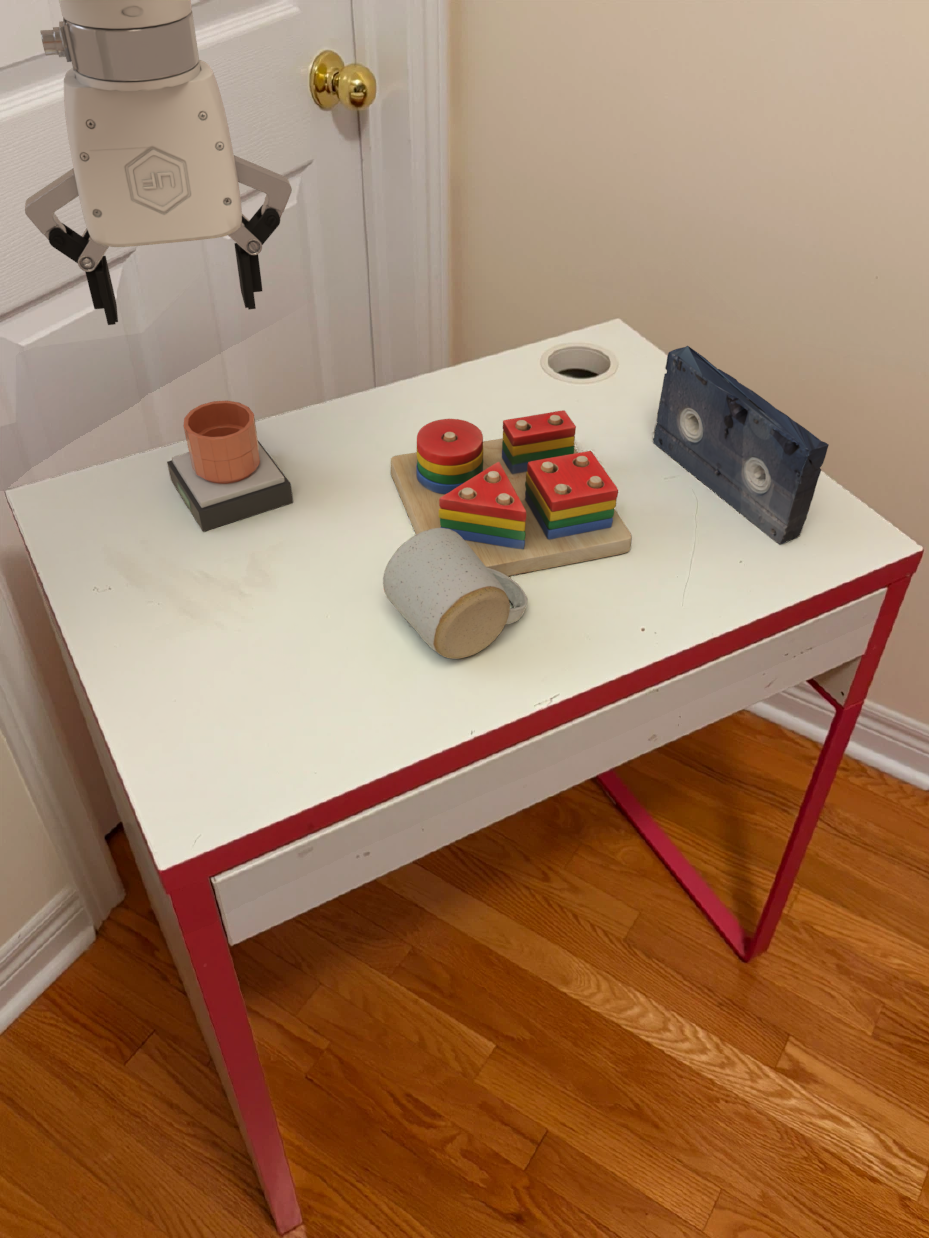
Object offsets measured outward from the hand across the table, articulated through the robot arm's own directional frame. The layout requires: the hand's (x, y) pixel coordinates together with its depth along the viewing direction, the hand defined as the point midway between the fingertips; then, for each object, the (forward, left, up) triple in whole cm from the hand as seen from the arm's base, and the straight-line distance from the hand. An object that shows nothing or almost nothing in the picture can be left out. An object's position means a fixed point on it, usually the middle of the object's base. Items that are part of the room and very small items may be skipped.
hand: (181, 308), depth 76 cm
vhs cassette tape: (+41, +20, -23) cm, 51 cm away
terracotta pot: (-3, +7, -19) cm, 21 cm away
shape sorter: (+22, +11, -22) cm, 33 cm away
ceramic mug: (+22, -4, -22) cm, 32 cm away
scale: (-3, +7, -22) cm, 23 cm away
